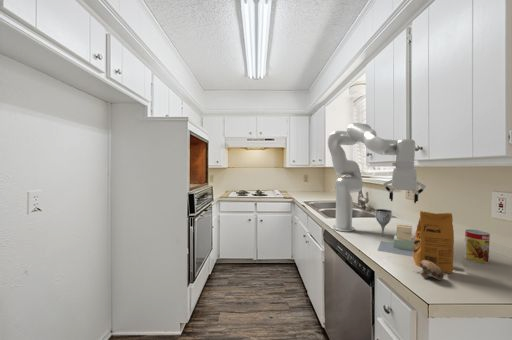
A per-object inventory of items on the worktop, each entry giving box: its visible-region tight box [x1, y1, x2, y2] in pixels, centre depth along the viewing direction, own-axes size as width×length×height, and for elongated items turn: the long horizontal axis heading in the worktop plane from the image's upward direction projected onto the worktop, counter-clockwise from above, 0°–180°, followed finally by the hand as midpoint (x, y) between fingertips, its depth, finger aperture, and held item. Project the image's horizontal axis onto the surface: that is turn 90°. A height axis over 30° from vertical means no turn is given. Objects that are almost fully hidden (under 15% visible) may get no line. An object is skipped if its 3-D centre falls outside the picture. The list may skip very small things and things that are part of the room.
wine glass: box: [374, 208, 393, 238], centre depth 141 cm, size 8×8×15 cm
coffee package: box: [412, 210, 455, 274], centre depth 101 cm, size 10×12×22 cm
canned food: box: [464, 229, 491, 264], centre depth 111 cm, size 8×8×12 cm
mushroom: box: [419, 260, 444, 281], centre depth 92 cm, size 8×8×6 cm
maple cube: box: [396, 223, 413, 241], centre depth 123 cm, size 6×6×6 cm
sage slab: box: [393, 234, 415, 251], centre depth 123 cm, size 8×8×4 cm
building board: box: [377, 240, 413, 258], centre depth 121 cm, size 17×15×1 cm
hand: (403, 201), depth 123 cm, fingers open, 9 cm apart
